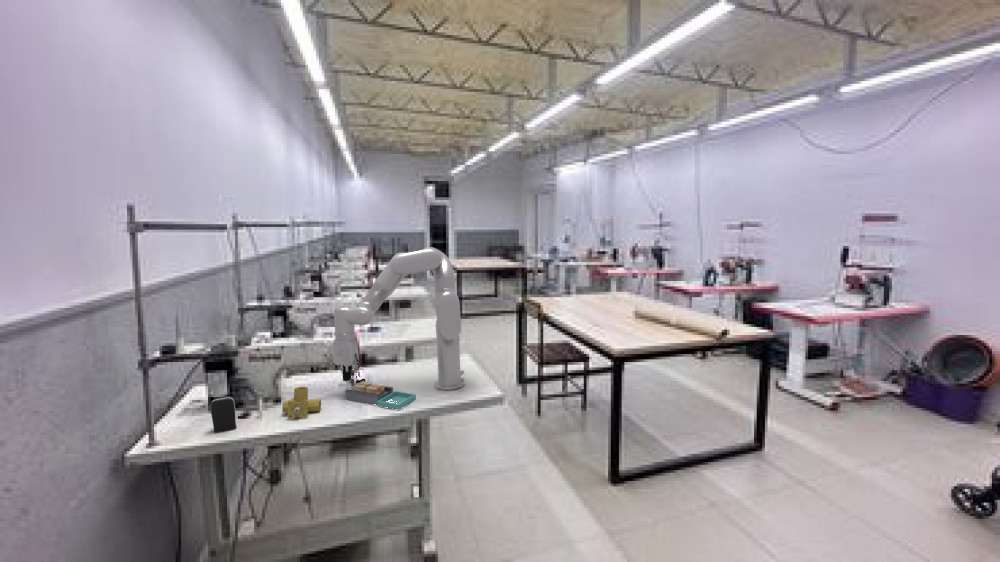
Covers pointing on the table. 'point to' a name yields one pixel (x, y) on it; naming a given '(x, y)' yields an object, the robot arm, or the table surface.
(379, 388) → the chip
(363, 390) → the chip
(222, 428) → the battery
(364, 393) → the rail plate
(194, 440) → the table surface
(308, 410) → the ball valve
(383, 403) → the tray
